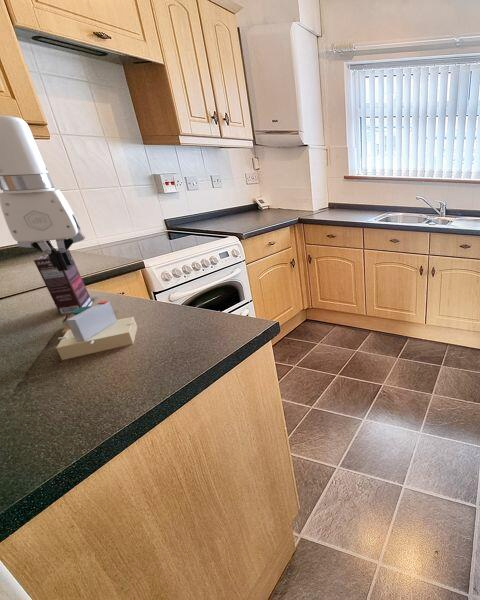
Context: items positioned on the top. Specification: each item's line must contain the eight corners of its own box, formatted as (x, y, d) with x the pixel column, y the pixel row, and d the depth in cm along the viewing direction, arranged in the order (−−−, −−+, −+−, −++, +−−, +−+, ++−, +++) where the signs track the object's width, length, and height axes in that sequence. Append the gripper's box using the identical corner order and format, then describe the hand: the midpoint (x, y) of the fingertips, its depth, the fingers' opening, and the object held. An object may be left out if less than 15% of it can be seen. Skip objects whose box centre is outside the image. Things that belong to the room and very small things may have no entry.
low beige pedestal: (55, 366, 67) (48, 352, 66) (72, 337, 78) (66, 325, 76) (135, 347, 73) (130, 334, 72) (141, 323, 84) (137, 312, 82)
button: (73, 320, 79) (70, 313, 78) (77, 314, 82) (74, 308, 81) (93, 316, 80) (90, 310, 80) (96, 311, 83) (93, 304, 83)
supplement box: (71, 306, 94) (46, 251, 87) (93, 303, 96) (70, 249, 89) (60, 319, 86) (31, 260, 80) (84, 315, 88) (58, 257, 82)
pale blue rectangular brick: (84, 341, 70) (74, 318, 68) (76, 341, 70) (65, 319, 68) (117, 321, 78) (109, 300, 76) (109, 321, 78) (101, 300, 76)
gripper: (-36, 188, 62) (13, 280, 70) (70, 183, 69) (104, 267, 77) (-17, 185, 68) (26, 270, 76) (79, 180, 75) (109, 259, 83)
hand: (65, 269), depth 76 cm, fingers closed
